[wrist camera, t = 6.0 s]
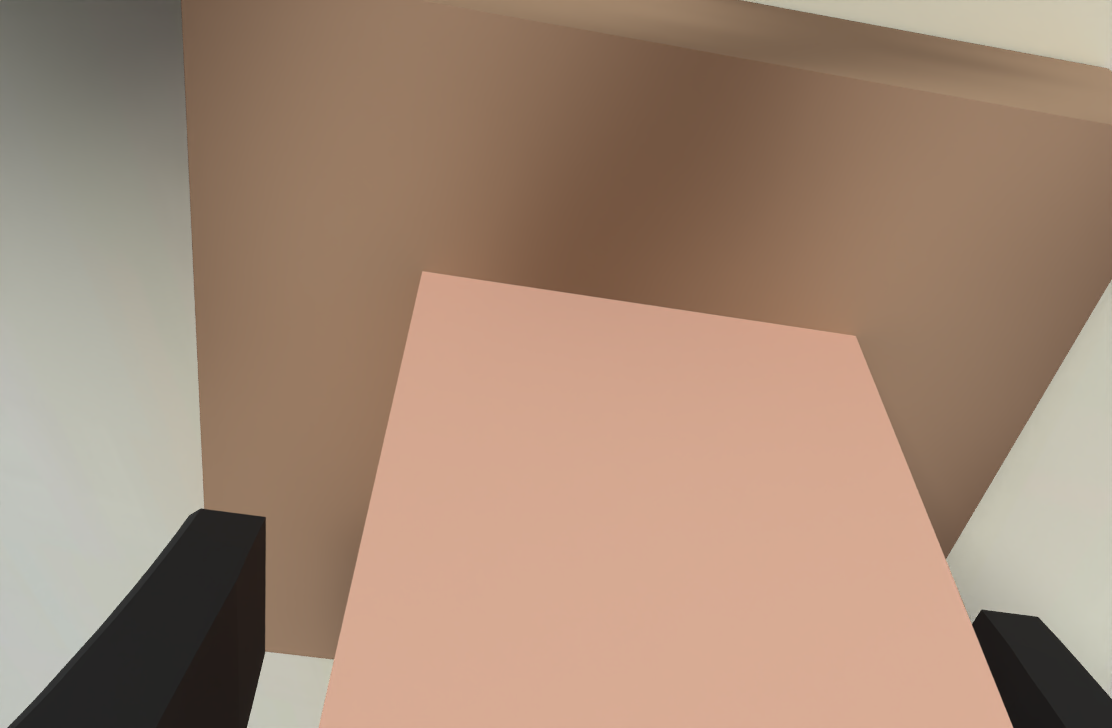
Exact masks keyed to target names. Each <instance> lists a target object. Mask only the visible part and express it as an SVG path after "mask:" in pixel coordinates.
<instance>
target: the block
mask: <svg viewBox="0 0 1112 728" xmlns="http://www.w3.org/2000/svg"><path fill="white" fill-rule="evenodd" d="M319 728H1013V726H1012V723H1011V721H1010V718H1009V716H1008V713H1007V711H1006V708H1005V706H1004V704H1003V701H1002V699H1001V696H1000V694H999V691H998V689H997V686H996V684H995V681H994V679H993V676H992V674H991V671H990V669H989V666H988V664H987V661H986V659H985V656H984V654H983V651H982V649H981V646H980V644H979V641H978V639H977V636H976V634H975V631H974V629H973V626H972V624H971V621H970V619H969V616H968V614H967V611H966V609H965V606H964V604H963V601H962V599H961V597H960V594H959V592H958V589H957V587H956V584H955V582H954V579H953V577H952V574H951V572H950V569H949V567H948V564H947V562H946V559H945V557H944V554H943V552H942V549H941V547H940V544H939V542H938V539H937V537H936V534H935V532H934V529H933V527H932V524H931V522H930V519H929V517H928V514H927V512H926V509H925V507H924V504H923V502H922V499H921V497H920V495H919V492H918V490H917V487H916V485H915V482H914V480H913V477H912V475H911V472H910V470H909V467H908V465H907V462H906V460H905V457H904V455H903V452H902V450H901V447H900V445H899V442H898V440H897V437H896V435H895V432H894V430H893V427H892V425H891V422H890V420H889V417H888V415H887V412H886V410H885V407H884V405H883V402H882V400H881V397H880V395H879V392H878V390H877V388H876V385H875V383H874V380H873V378H872V375H871V373H870V370H869V368H868V365H867V363H866V360H865V358H864V355H863V353H862V350H861V348H860V345H859V343H858V340H857V338H856V336H853V335H846V334H840V333H833V332H826V331H819V330H813V329H806V328H799V327H793V326H786V325H779V324H773V323H766V322H759V321H752V320H746V319H739V318H732V317H726V316H719V315H712V314H705V313H699V312H692V311H685V310H679V309H672V308H665V307H659V306H652V305H645V304H638V303H632V302H625V301H618V300H612V299H605V298H598V297H592V296H585V295H578V294H571V293H565V292H558V291H551V290H545V289H538V288H531V287H525V286H518V285H511V284H504V283H498V282H491V281H484V280H478V279H471V278H464V277H458V276H451V275H444V274H437V273H431V272H424V271H422V275H421V279H420V284H419V288H418V292H417V297H416V301H415V306H414V310H413V314H412V319H411V323H410V328H409V332H408V336H407V341H406V345H405V350H404V354H403V358H402V363H401V367H400V372H399V376H398V380H397V385H396V389H395V394H394V398H393V402H392V407H391V411H390V416H389V420H388V425H387V429H386V433H385V438H384V442H383V447H382V451H381V455H380V460H379V464H378V469H377V473H376V477H375V482H374V486H373V491H372V495H371V499H370V504H369V508H368V513H367V517H366V521H365V526H364V530H363V535H362V539H361V544H360V548H359V552H358V557H357V561H356V566H355V570H354V574H353V579H352V583H351V588H350V592H349V596H348V601H347V605H346V610H345V614H344V618H343V623H342V627H341V632H340V636H339V640H338V645H337V649H336V654H335V658H334V662H333V667H332V671H331V676H330V680H329V685H328V689H327V693H326V698H325V702H324V707H323V711H322V715H321V720H320V724H319Z"/></svg>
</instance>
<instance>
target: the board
mask: <svg viewBox="0 0 1112 728" xmlns="http://www.w3.org/2000/svg"><path fill="white" fill-rule="evenodd" d="M181 11H182V33H183V54H184V76H185V98H186V120H187V141H188V163H189V185H190V207H191V228H192V250H193V272H194V294H195V316H196V337H197V359H198V381H199V403H200V424H201V446H202V468H203V490H204V509H208V510H216V511H224V512H232V513H239V514H247V515H255V516H262V517H266V596H265V651H266V652H275V653H283V654H292V655H300V656H309V657H317V658H326V659H334V658H335V654H336V649H337V645H338V640H339V636H340V632H341V627H342V623H343V618H344V614H345V610H346V605H347V601H348V596H349V592H350V588H351V583H352V579H353V574H354V570H355V566H356V561H357V557H358V552H359V548H360V544H361V539H362V535H363V530H364V526H365V521H366V517H367V513H368V508H369V504H370V499H371V495H372V491H373V486H374V482H375V477H376V473H377V469H378V464H379V460H380V455H381V451H382V447H383V442H384V438H385V433H386V429H387V425H388V420H389V416H390V411H391V407H392V402H393V398H394V394H395V389H396V385H397V380H398V376H399V372H400V367H401V363H402V358H403V354H404V350H405V345H406V341H407V336H408V332H409V328H410V323H411V319H412V314H413V310H414V306H415V301H416V297H417V292H418V288H419V284H420V279H421V275H422V271H424V272H431V273H437V274H444V275H451V276H458V277H464V278H471V279H478V280H484V281H491V282H498V283H504V284H511V285H518V286H525V287H531V288H538V289H545V290H551V291H558V292H565V293H571V294H578V295H585V296H592V297H598V298H605V299H612V300H618V301H625V302H632V303H638V304H645V305H652V306H659V307H665V308H672V309H679V310H685V311H692V312H699V313H705V314H712V315H719V316H726V317H732V318H739V319H746V320H752V321H759V322H766V323H773V324H779V325H786V326H793V327H799V328H806V329H813V330H819V331H826V332H833V333H840V334H846V335H853V336H856V338H857V340H858V343H859V345H860V348H861V350H862V353H863V355H864V358H865V360H866V363H867V365H868V368H869V370H870V373H871V375H872V378H873V380H874V383H875V385H876V388H877V390H878V392H879V395H880V397H881V400H882V402H883V405H884V407H885V410H886V412H887V415H888V417H889V420H890V422H891V425H892V427H893V430H894V432H895V435H896V437H897V440H898V442H899V445H900V447H901V450H902V452H903V455H904V457H905V460H906V462H907V465H908V467H909V470H910V472H911V475H912V477H913V480H914V482H915V485H916V487H917V490H918V492H919V495H920V497H921V499H922V502H923V504H924V507H925V509H926V512H927V514H928V517H929V519H930V522H931V524H932V527H933V529H934V532H935V534H936V537H937V539H938V542H939V544H940V547H941V549H942V552H943V554H944V557H945V559H946V558H947V556H948V555H949V553H950V551H951V549H952V548H953V546H954V544H955V543H956V541H957V539H958V538H959V536H960V534H961V533H962V531H963V529H964V528H965V526H966V524H967V522H968V521H969V519H970V517H971V516H972V514H973V512H974V511H975V509H976V507H977V506H978V504H979V502H980V501H981V499H982V497H983V495H984V494H985V492H986V490H987V489H988V487H989V485H990V484H991V482H992V480H993V479H994V477H995V475H996V473H997V472H998V470H999V468H1000V467H1001V465H1002V463H1003V462H1004V460H1005V458H1006V457H1007V455H1008V453H1009V452H1010V450H1011V448H1012V446H1013V445H1014V443H1015V441H1016V440H1017V438H1018V436H1019V435H1020V433H1021V431H1022V430H1023V428H1024V426H1025V425H1026V423H1027V421H1028V419H1029V418H1030V416H1031V414H1032V413H1033V411H1034V409H1035V408H1036V406H1037V404H1038V403H1039V401H1040V399H1041V397H1042V396H1043V394H1044V392H1045V391H1046V389H1047V387H1048V386H1049V384H1050V382H1051V381H1052V379H1053V377H1054V376H1055V374H1056V372H1057V370H1058V369H1059V367H1060V365H1061V364H1062V362H1063V360H1064V359H1065V357H1066V355H1067V354H1068V352H1069V350H1070V349H1071V347H1072V345H1073V343H1074V342H1075V340H1076V338H1077V337H1078V335H1079V333H1080V332H1081V330H1082V328H1083V327H1084V325H1085V323H1086V321H1087V320H1088V318H1089V316H1090V315H1091V313H1092V311H1093V310H1094V308H1095V306H1096V305H1097V303H1098V301H1099V300H1100V298H1101V296H1102V294H1103V293H1104V291H1105V289H1106V288H1107V286H1108V284H1109V283H1110V281H1111V279H1112V71H1110V70H1109V69H1107V68H1102V67H1097V66H1091V65H1086V64H1081V63H1075V62H1070V61H1064V60H1059V59H1054V58H1048V57H1043V56H1038V55H1032V54H1027V53H1021V52H1016V51H1011V50H1005V49H1000V48H994V47H989V46H984V45H978V44H973V43H968V42H962V41H957V40H951V39H946V38H941V37H935V36H930V35H924V34H919V33H914V32H908V31H903V30H898V29H892V28H887V27H881V26H876V25H871V24H865V23H860V22H854V21H849V20H844V19H838V18H833V17H828V16H822V15H817V14H811V13H806V12H801V11H795V10H790V9H784V8H779V7H774V6H768V5H763V4H758V3H752V2H747V1H741V0H181Z"/></svg>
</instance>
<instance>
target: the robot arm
mask: <svg viewBox="0 0 1112 728" xmlns="http://www.w3.org/2000/svg"><path fill="white" fill-rule="evenodd" d="M265 596H266V517H262V516H255V515H247V514H239V513H232V512H224V511H216V510H208V509H199V510H198V511H196V512H194V513H193V514H191V515H189V517H188V518H187V519H186V521H185V522H184V523H183V525H182V526H181V527H180V529H179V530H178V531H177V533H176V534H175V536H174V537H173V538H172V540H171V541H170V542H169V543H168V545H167V546H166V547H165V549H164V550H163V551H162V552H161V554H160V555H159V556H158V558H157V559H156V560H155V561H154V563H153V564H152V565H151V566H150V568H149V569H148V570H147V572H146V573H145V574H144V575H143V576H142V578H141V579H140V580H139V581H138V583H137V584H136V585H135V586H134V587H133V589H132V590H131V591H130V592H129V593H128V595H127V596H126V597H125V598H124V599H123V601H122V602H121V603H120V604H119V605H118V607H117V608H116V609H115V610H114V611H113V612H112V614H111V615H110V616H109V617H108V618H107V620H106V621H105V622H104V623H103V624H102V625H101V627H100V628H99V629H98V630H97V631H96V632H95V633H94V634H93V636H92V637H91V638H90V639H89V640H88V641H87V642H86V643H85V644H84V646H83V647H82V648H81V649H80V650H79V651H78V652H77V653H76V654H75V656H74V657H73V658H72V659H71V660H70V661H69V662H68V663H67V664H66V666H65V667H64V668H63V669H62V670H61V671H60V672H59V673H58V674H57V676H56V677H55V678H54V679H53V680H52V681H51V682H50V683H49V684H48V686H47V687H46V688H45V689H44V690H43V691H42V692H41V693H40V694H39V695H38V696H37V698H36V699H35V700H34V701H33V702H32V703H31V704H30V705H29V706H28V707H27V708H26V709H25V710H24V711H23V712H22V713H21V714H20V715H19V716H18V717H17V719H16V720H15V721H14V722H13V723H12V724H11V725H10V726H9V727H8V728H247V724H248V721H249V717H250V713H251V709H252V705H253V700H254V696H255V692H256V688H257V684H258V680H259V676H260V671H261V667H262V663H263V659H264V655H265ZM972 626H973V629H974V631H975V634H976V636H977V639H978V641H979V644H980V646H981V649H982V651H983V654H984V656H985V659H986V661H987V664H988V666H989V669H990V671H991V674H992V676H993V679H994V681H995V684H996V686H997V689H998V691H999V694H1000V696H1001V699H1002V701H1003V704H1004V706H1005V708H1006V711H1007V713H1008V716H1009V718H1010V721H1011V723H1012V726H1013V728H1112V699H1111V698H1110V697H1109V695H1108V694H1107V693H1106V692H1105V691H1104V690H1103V689H1102V687H1101V686H1100V685H1099V684H1098V683H1097V682H1096V681H1095V679H1094V678H1093V677H1092V676H1091V675H1090V674H1089V673H1088V671H1087V670H1086V669H1085V668H1084V667H1083V666H1082V665H1081V663H1080V662H1079V661H1078V660H1077V659H1076V658H1075V657H1074V656H1073V654H1072V653H1071V652H1070V651H1069V650H1068V649H1067V648H1066V647H1065V646H1064V644H1063V643H1062V642H1061V641H1060V640H1059V639H1058V638H1057V637H1056V636H1055V635H1054V633H1053V632H1052V631H1051V630H1050V629H1049V628H1048V627H1047V626H1046V625H1045V624H1044V623H1043V622H1042V621H1041V620H1040V619H1039V618H1038V617H1034V616H1027V615H1019V614H1011V613H1003V612H996V611H988V610H981V611H980V613H979V614H978V616H977V617H976V619H975V621H974V622H973V624H972Z"/></svg>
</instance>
